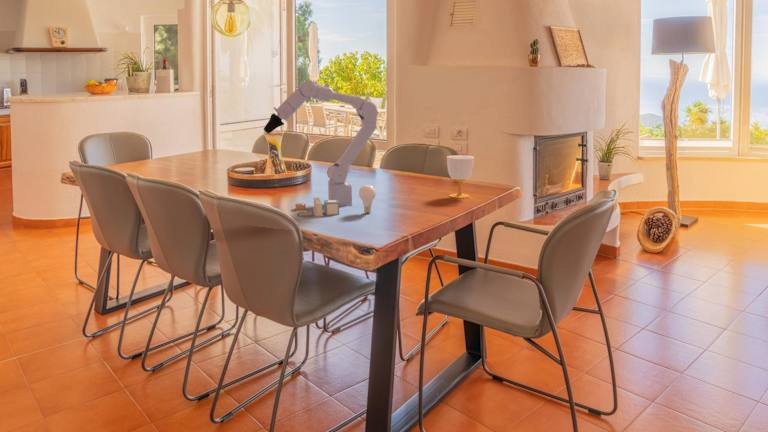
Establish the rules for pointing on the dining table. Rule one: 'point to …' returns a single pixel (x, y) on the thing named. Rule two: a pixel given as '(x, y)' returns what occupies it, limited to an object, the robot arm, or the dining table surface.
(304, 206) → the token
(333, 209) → the blue-grey cube
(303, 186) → the dining table surface
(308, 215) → the pad
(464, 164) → the cup
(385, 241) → the dining table surface
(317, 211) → the tan rectangular block
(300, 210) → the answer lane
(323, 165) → the dining table surface
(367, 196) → the lightbulb
